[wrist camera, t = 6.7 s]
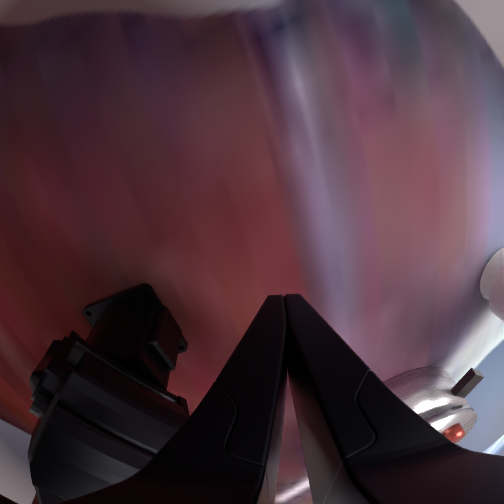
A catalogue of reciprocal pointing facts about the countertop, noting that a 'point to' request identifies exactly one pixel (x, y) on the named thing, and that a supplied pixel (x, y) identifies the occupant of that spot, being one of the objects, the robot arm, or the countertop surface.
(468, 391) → the cooker pot
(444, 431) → the cooker lid
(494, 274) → the white cylinder
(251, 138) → the countertop surface
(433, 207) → the countertop surface
